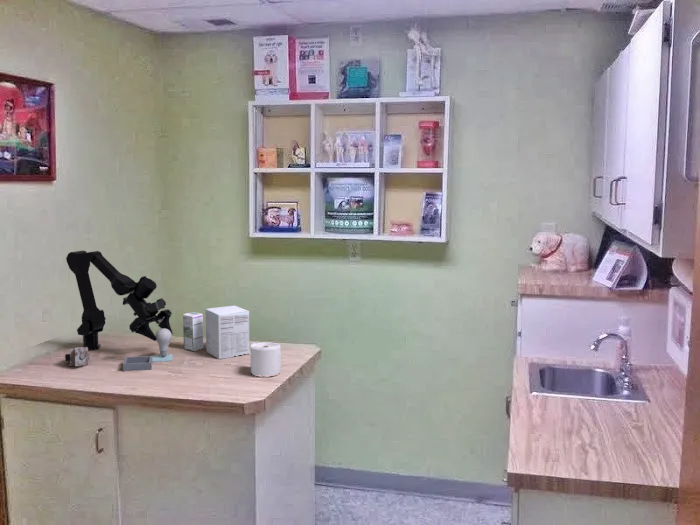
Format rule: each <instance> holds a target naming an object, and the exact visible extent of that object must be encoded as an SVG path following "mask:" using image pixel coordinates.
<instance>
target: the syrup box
mask: <svg viewBox="0 0 700 525" xmlns="http://www.w3.org/2000/svg"><path fill="white" fill-rule="evenodd" d="M203 320H204V319H203V313H199V312H194V311H192V312H187V313H183V314H182V325H183V326H182V327H183V349H184V350H187V351H192V352H197V351H199V349H200V350H203V349H204V322H203ZM202 348H203V349H202ZM196 350H197V351H196Z"/></svg>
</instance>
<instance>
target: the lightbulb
mask: <svg viewBox="0 0 700 525" xmlns="http://www.w3.org/2000/svg"><path fill="white" fill-rule="evenodd" d="M154 335H155V336H156V338H157V340H156V341H155V342H157V345H158V349H159V355H161V356H162V357H165V356H166V355H168V350H169V345H170V343H171V341H172V338H173V334H171V332H170V331H169V330H168V329H165V328H163V329H162V328H160V329H158V330H157V331H156V333H155V334H154Z"/></svg>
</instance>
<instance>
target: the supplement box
mask: <svg viewBox="0 0 700 525" xmlns="http://www.w3.org/2000/svg"><path fill="white" fill-rule="evenodd" d="M205 341H206V342H205V346H206V350H205V351H206V353H208V354H210V355H211V356H214V357H215V358H216V359H218V360H221V359H229V357H230V358H235V357H234V356H236V357H239V356H238V355H242V356H244V355H243V354H247V353H249V354H250V311H249V310H248V309H244V308H242V307H240V306H238V305H227V306H219V307H217V306H216V307H210V308H205Z"/></svg>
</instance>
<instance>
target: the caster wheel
mask: <svg viewBox="0 0 700 525" xmlns="http://www.w3.org/2000/svg"><path fill="white" fill-rule="evenodd" d="M68 351H69V353H66V354H65V355H64V358H65V359H64V361H65V362H69V364H68V367H71V366H73V367H74V366H75V367H84V366H86V365H87V366H89V360H90V352H89V350H88V347H83V346H81V347H75V348H68Z"/></svg>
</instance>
